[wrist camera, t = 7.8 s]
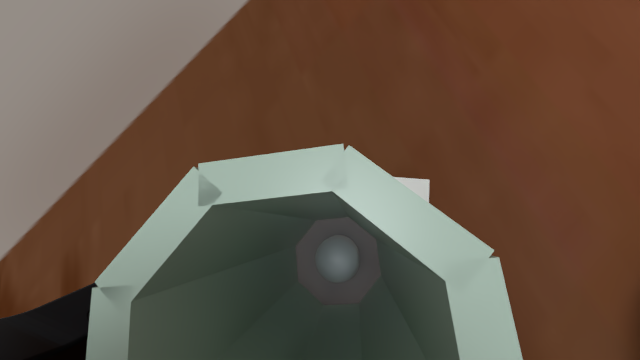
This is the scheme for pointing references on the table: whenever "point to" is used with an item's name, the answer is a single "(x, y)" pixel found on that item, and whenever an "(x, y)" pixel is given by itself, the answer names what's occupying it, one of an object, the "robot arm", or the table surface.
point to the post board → (343, 256)
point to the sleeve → (281, 271)
